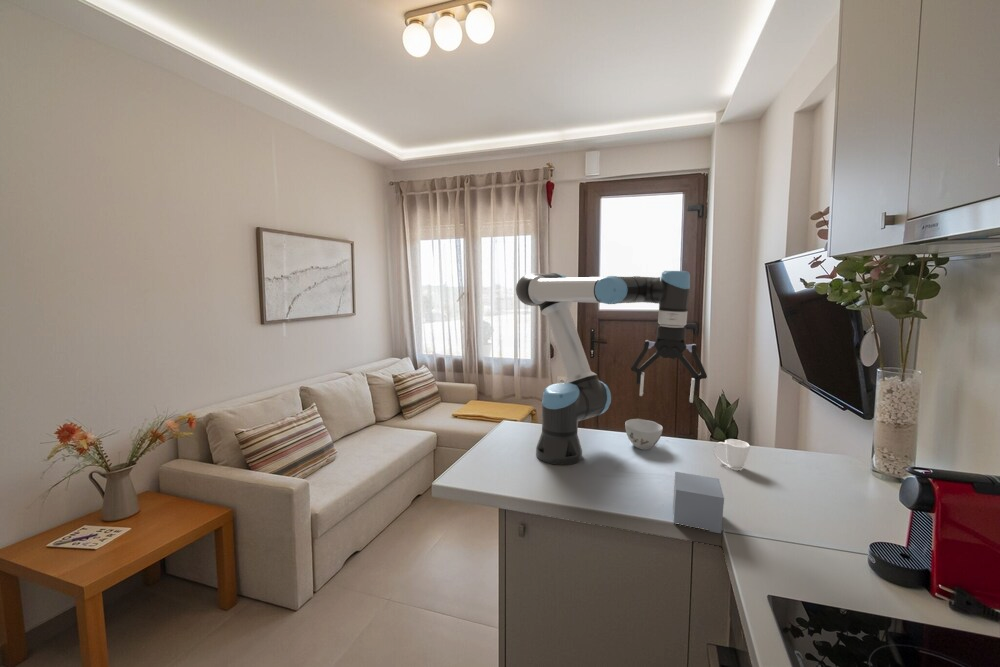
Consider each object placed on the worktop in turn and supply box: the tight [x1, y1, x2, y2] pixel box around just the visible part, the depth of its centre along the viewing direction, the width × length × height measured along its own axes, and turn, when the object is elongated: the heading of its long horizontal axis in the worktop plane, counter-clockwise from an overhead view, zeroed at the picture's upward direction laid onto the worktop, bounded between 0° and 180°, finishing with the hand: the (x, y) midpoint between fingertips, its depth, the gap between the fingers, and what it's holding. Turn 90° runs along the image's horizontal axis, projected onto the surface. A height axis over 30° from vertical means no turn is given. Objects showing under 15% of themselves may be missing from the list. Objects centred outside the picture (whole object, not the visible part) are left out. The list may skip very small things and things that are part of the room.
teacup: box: [624, 418, 663, 450], centre depth 149 cm, size 15×12×8 cm
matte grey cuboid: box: [672, 471, 725, 534], centre depth 104 cm, size 10×10×9 cm
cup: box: [712, 438, 751, 471], centre depth 133 cm, size 7×10×8 cm
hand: (665, 398), depth 123 cm, fingers open, 13 cm apart
